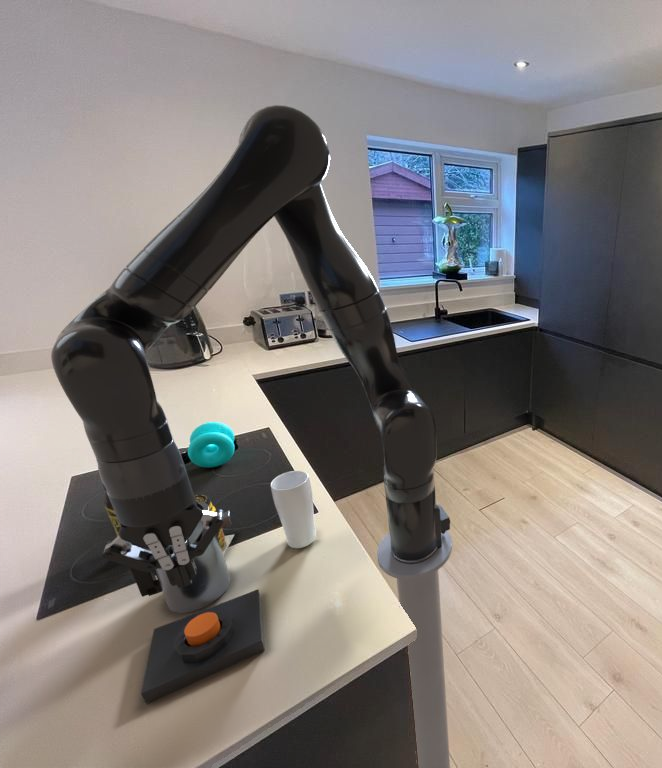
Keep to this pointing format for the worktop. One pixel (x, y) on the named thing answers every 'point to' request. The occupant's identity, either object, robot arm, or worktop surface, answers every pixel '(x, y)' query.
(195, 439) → the turquoise yo-yo
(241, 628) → the black base plate
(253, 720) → the worktop surface
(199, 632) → the button
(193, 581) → the kettle
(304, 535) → the drinking glass
